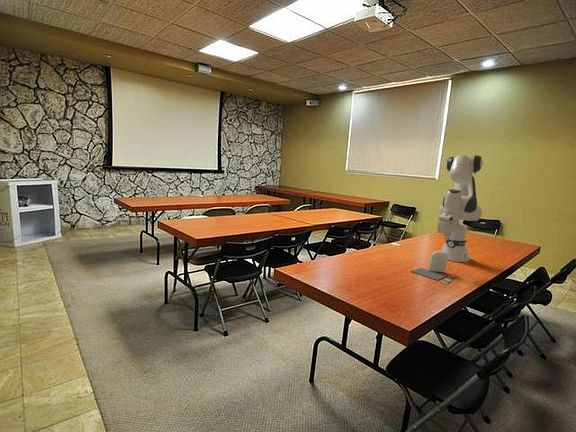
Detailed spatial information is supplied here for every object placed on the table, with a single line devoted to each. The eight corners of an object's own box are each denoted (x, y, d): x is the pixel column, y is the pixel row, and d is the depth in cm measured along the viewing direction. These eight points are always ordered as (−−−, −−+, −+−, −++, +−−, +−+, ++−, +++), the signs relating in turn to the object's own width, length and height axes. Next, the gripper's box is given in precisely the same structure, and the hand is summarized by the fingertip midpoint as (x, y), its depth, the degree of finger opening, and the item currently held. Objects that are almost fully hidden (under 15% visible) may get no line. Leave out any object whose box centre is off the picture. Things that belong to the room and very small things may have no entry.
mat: (421, 268, 199) (421, 267, 199) (447, 276, 187) (447, 275, 187) (410, 271, 192) (410, 270, 192) (436, 280, 179) (437, 279, 179)
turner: (448, 276, 189) (449, 274, 189) (455, 277, 186) (455, 276, 186) (440, 282, 177) (440, 281, 177) (447, 284, 175) (447, 283, 174)
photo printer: (441, 270, 198) (444, 250, 197) (446, 272, 194) (450, 252, 192) (426, 269, 196) (430, 249, 194) (431, 271, 191) (435, 251, 190)
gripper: (453, 215, 202) (449, 237, 205) (436, 216, 190) (433, 239, 192) (463, 217, 198) (460, 239, 200) (447, 218, 185) (443, 242, 187)
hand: (446, 239), depth 196 cm, fingers closed
